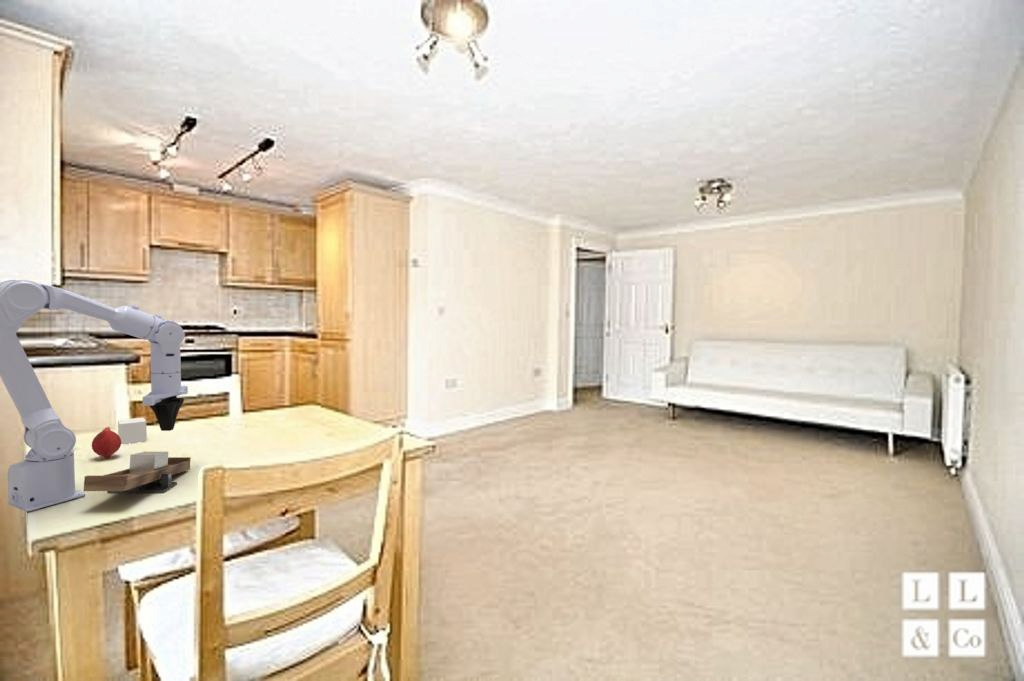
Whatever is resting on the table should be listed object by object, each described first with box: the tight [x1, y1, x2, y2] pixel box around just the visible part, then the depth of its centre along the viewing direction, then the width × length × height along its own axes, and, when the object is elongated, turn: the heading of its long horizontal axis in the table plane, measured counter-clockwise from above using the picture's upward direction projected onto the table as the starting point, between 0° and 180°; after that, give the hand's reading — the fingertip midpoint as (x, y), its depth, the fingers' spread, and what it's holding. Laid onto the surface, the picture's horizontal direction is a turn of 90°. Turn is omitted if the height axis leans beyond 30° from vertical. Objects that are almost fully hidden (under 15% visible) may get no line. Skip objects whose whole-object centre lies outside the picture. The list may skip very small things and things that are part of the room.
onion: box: [91, 426, 122, 459], centre depth 128 cm, size 6×6×8 cm
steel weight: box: [128, 451, 169, 474], centre depth 111 cm, size 5×5×4 cm
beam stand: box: [106, 472, 178, 494], centre depth 109 cm, size 5×11×4 cm, turn 96°
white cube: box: [117, 417, 148, 445], centre depth 144 cm, size 6×6×6 cm
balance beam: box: [83, 456, 192, 492], centre depth 109 cm, size 24×8×3 cm, turn 6°
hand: (167, 430), depth 118 cm, fingers closed
